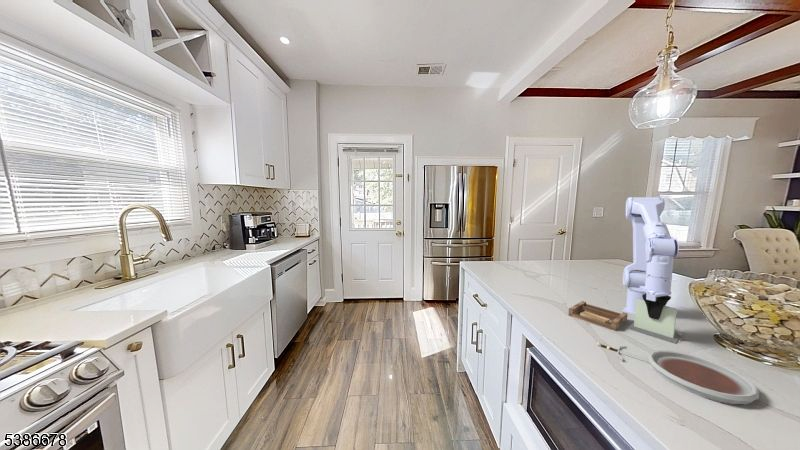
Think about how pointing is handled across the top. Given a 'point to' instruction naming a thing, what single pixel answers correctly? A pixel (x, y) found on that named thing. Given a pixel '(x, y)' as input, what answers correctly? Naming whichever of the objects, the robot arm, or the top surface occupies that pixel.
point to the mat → (655, 334)
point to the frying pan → (698, 376)
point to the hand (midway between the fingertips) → (654, 317)
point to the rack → (614, 317)
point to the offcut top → (595, 317)
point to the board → (660, 326)
